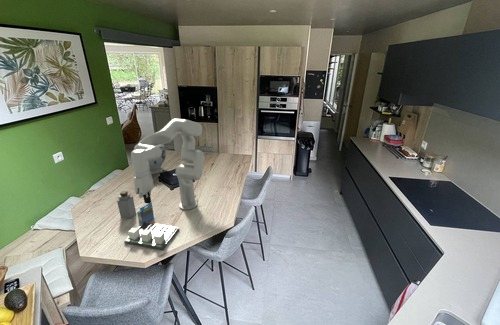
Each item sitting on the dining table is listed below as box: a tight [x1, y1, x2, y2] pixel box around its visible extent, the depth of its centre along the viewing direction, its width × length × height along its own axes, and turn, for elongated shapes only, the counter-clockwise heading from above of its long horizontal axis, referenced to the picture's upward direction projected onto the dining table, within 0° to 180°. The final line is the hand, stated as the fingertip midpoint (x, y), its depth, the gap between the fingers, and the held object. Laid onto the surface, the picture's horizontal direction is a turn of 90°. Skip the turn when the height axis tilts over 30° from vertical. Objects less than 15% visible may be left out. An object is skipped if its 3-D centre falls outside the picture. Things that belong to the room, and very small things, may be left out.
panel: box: [123, 221, 180, 252], centre depth 140 cm, size 18×24×3 cm
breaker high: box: [154, 232, 165, 244], centre depth 132 cm, size 4×4×5 cm
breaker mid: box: [141, 230, 152, 242], centre depth 134 cm, size 4×4×5 cm
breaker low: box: [127, 227, 140, 240], centre depth 135 cm, size 4×4×5 cm
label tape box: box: [136, 201, 155, 225], centre depth 152 cm, size 9×4×12 cm, turn 150°
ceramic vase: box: [133, 140, 167, 175], centre depth 221 cm, size 27×27×30 cm
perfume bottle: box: [116, 190, 137, 220], centre depth 156 cm, size 7×7×18 cm
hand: (147, 202), depth 132 cm, fingers closed
